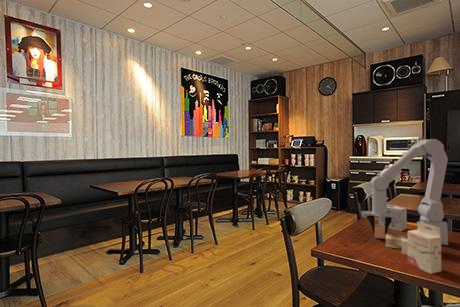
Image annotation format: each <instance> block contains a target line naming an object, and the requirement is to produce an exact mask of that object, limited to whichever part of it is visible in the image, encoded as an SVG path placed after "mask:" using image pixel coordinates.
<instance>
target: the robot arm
mask: <svg viewBox="0 0 460 307" xmlns="http://www.w3.org/2000/svg"><path fill="white" fill-rule="evenodd" d="M444 147H445V144H443V143H442V142H441V141H440V140H438V139H436V138H430V139H425V138H424V139H419V140H418V141H416V143H414V144H413V145H411V147H410V148H409V149H407V151H406V152H405V153H404V154H403V155H402V156H401V157H400V158H399V159H398V160H397V161H396V162H394V163H390V164H386V165H385V166H384V169H382V171H380V172H378V173H376V176H373V177H372V178H371V180H370V182H369V185H370V186H371V204H372V205H371V208H372V209H371V211H369V210H365V211H364V210H361V216H362V217H367V219H368V221H369V223H370V225H371V229H372V233H373V234H375V223H376V222H375V218H379V217H382V218H385V235H386V233H387V234H388V227H389V225H390V223H391V221H392V219H399V214H393V213H387V205H388V203H387V202H388V198H387V189H388V188H389V186H390V183H392V182H393V181H394V180H395V179H396V178H398V176H400V175H401V173H402V169H403V168H404V167H405V166H406V165H408V164H409V163H410V162H411V161H413V160H414V159H415V158H416V157H417V158H418V157H421V156H425V158H427V159H428V160H429V161H430V166H429V167H430V168H429V173H428V179H427V183H426V184H427V185H426V189H425V195H424V197H423V198H422V199H421V201H420V203H419V205H418V206H417V213H418V214H419V215H420V217H419V222H421V223H425V224H429V225H432V226H435V227H439V228H440V236H441V245H444V246H449V230H448V229H449V227H448V223H447V221H442V220H443V219H444V216H445V212H444V209H443V208H444V205H443V202H442V201H441V197H442V192H443V187H444V181H445V175H446V171H447V165H448V160H449V159H448V156H447V154H446V150H445V148H444ZM424 228H425V229H428V230H432V229H431V228H429V227H424Z"/></svg>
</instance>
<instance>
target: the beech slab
mask: <svg viewBox="0 0 460 307" xmlns="http://www.w3.org/2000/svg"><path fill="white" fill-rule="evenodd" d="M402 238H405V239H407V238H406V235H401V234H394V233H388V232H387V233H386V234H385V247H386V248H393V249H399V250H402Z"/></svg>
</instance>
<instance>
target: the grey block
mask: <svg viewBox="0 0 460 307" xmlns="http://www.w3.org/2000/svg"><path fill="white" fill-rule="evenodd" d="M405 238H406V237H405ZM405 238H402V249H401V254H402V255H406V256H408V238H406V239H405Z"/></svg>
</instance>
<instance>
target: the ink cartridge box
mask: <svg viewBox="0 0 460 307" xmlns="http://www.w3.org/2000/svg"><path fill="white" fill-rule="evenodd" d="M416 225H417V229H412V230H407V239H408V255H407V264H409V265H411V266H413V267H415V268H418V269H419V270H421V271H423V272H426V273H428V274H436V273H440V272H442V244H441V236H440V228H439V227H435V226H432V225H429V224H425V223H421V222H420V221H416ZM424 227H429V228H431V229H432V230H428V229H425V228H424Z"/></svg>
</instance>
